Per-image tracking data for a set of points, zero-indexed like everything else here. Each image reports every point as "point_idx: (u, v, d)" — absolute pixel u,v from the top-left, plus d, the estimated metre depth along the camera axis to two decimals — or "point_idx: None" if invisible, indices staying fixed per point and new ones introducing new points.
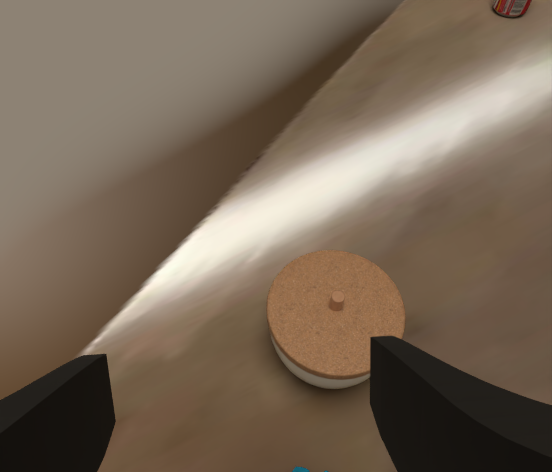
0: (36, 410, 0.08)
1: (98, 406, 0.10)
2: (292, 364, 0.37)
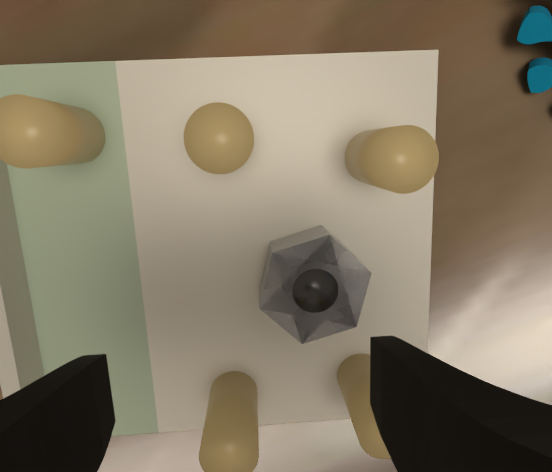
0: (36, 410, 0.08)
1: (98, 406, 0.10)
2: None
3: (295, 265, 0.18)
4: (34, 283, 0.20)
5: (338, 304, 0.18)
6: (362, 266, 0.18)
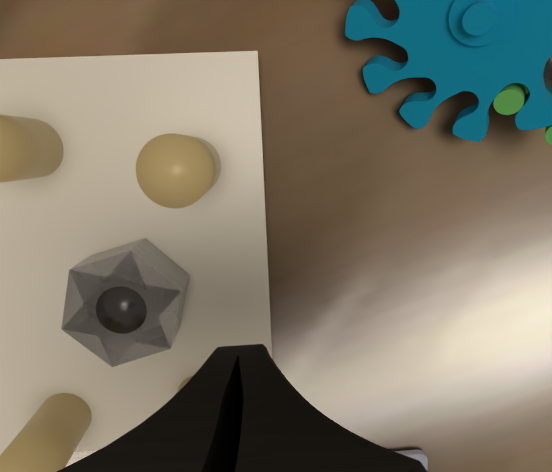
0: (224, 397, 0.08)
1: (241, 396, 0.10)
2: None
3: (96, 283, 0.16)
4: None
5: (148, 325, 0.17)
6: (171, 284, 0.17)
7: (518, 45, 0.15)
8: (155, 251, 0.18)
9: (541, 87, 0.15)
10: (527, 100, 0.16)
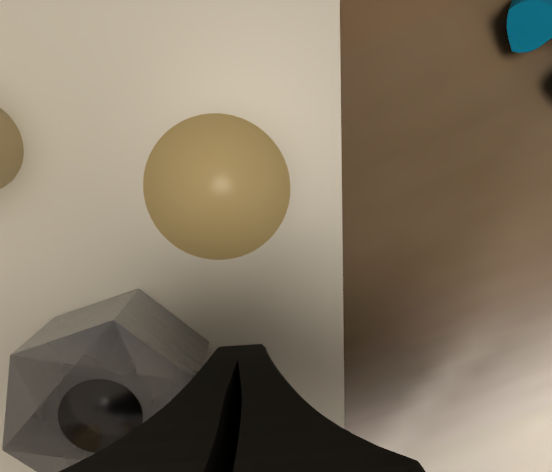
0: (226, 396, 0.08)
1: None
2: None
3: (57, 375, 0.10)
4: None
5: None
6: (182, 372, 0.10)
7: None
8: (155, 310, 0.11)
9: None
10: None
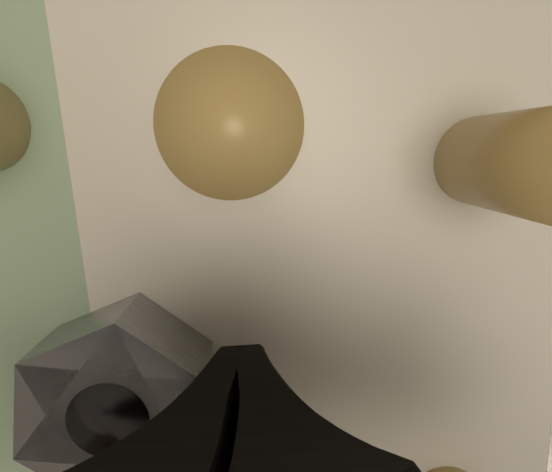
0: (228, 396, 0.08)
1: None
2: None
3: (62, 381, 0.10)
4: None
5: None
6: (185, 372, 0.10)
7: None
8: (156, 313, 0.11)
9: None
10: None
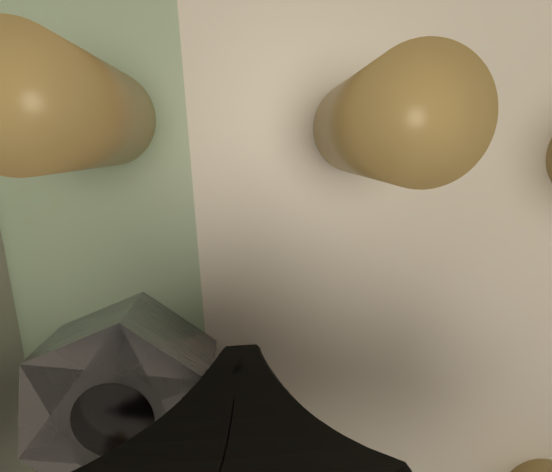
0: (235, 396, 0.08)
1: None
2: None
3: (67, 381, 0.10)
4: None
5: None
6: (190, 371, 0.10)
7: None
8: (160, 312, 0.11)
9: None
10: None
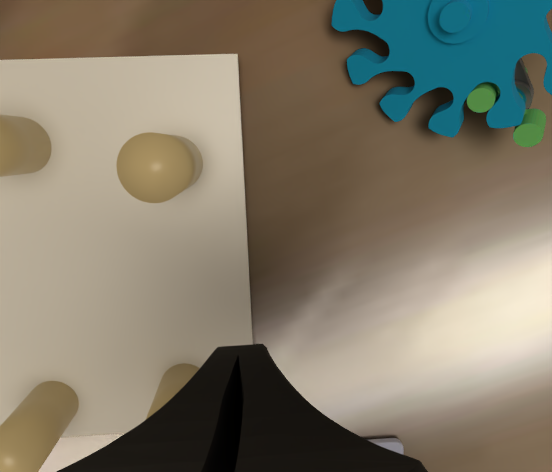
0: (224, 397, 0.08)
1: (241, 396, 0.10)
2: None
3: None
4: None
5: None
6: None
7: (491, 45, 0.15)
8: None
9: (511, 87, 0.16)
10: (498, 99, 0.16)
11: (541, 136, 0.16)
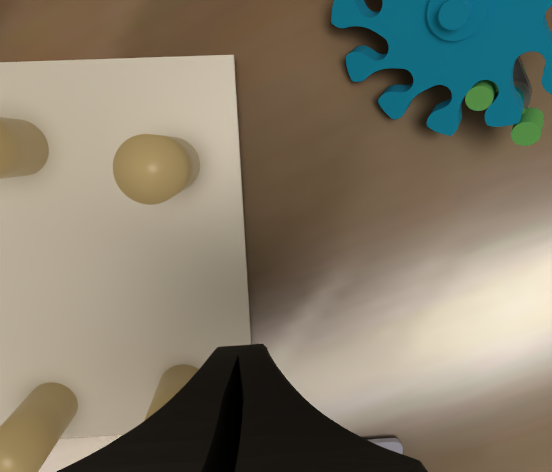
0: (224, 396, 0.08)
1: (241, 396, 0.10)
2: None
3: None
4: None
5: None
6: None
7: (489, 43, 0.15)
8: None
9: (509, 85, 0.16)
10: (496, 98, 0.16)
11: (539, 135, 0.16)
